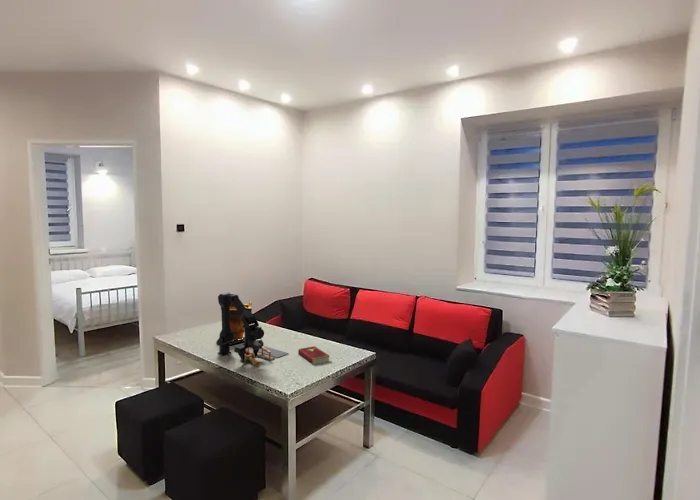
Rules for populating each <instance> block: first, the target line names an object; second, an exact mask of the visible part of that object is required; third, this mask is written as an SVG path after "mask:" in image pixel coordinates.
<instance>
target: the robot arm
mask: <svg viewBox="0 0 700 500" xmlns="http://www.w3.org/2000/svg"><path fill="white" fill-rule="evenodd" d="M217 300H218V304H219V306H220V312H221V330H220V333H219V337H218V339H217V340H216V342H215V343H216V346H219V349H218V350H219V351H218V352H217V353H216V354H218V355H220V356H227V355H230V354H232V352H231V350H230V348H231V347H230V344H233V342H234V341H233V338H234V335H233V334H234V332H233V331H231V329H230V309H229V307H230V305H231V303H232V304H233V305H234V306H235V308H236V309H237V311H238V312H239V314H240V315H241V320H242V322H243V324H244V325H243V326H242V327H243V328H244V337H243V339H244V340H243V341H244V343H243V344H242V345H243V346H242V345H237V346H235V347H234V349H233V351H234V353H236V354H237V355H238V356H239V358H240V360H241V361H242V363H245V361H244V359H245V353H246V352H245V351H246V350H248V348H249V349H252V351H253V353H254V354H255V359H257V357H256V356H257V353H258V351H259V349H260V348H262V347H264V346H265V345H264V341H263V337H265V336H264V335H265V330H264V329H262V326H260V324H259V322H258V320H257V318H256V315H254V314H253V312H252V311H251V312H249V311H248V310H247V309H246V308H245V306H244V305H243V304H244V303H243V302H242V301H241V299H240V298H239V295H238V294H234V293H230V292H224V293H219V295H218V296H217Z"/></svg>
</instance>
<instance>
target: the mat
mask: <svg viewBox="0 0 700 500" xmlns="http://www.w3.org/2000/svg"><path fill="white" fill-rule="evenodd" d="M263 347H264V348H266V349H268V350H269V351H271V357H275V358H276V359H280V358H282V357H284V356H287V355H289V352H286V351H282V350H279V349H276V348H272V347H268V346H267V345H266V346H265V345H264V346H263ZM258 352H259V353H262V349H259V351H258ZM263 354H265V355H268V356H269V353H267V352H265V351H264V350H263Z"/></svg>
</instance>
